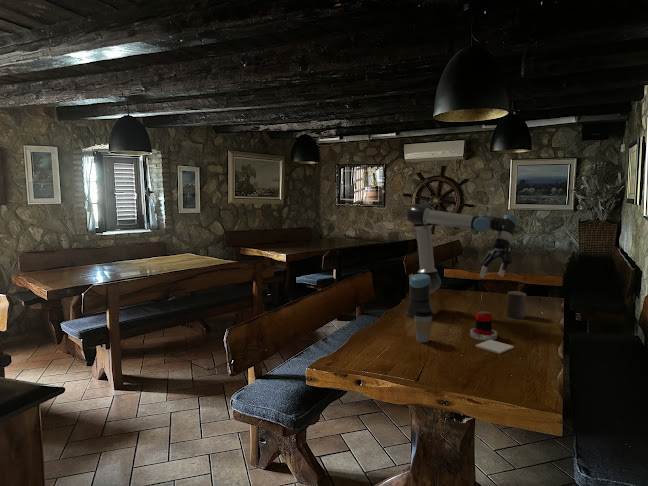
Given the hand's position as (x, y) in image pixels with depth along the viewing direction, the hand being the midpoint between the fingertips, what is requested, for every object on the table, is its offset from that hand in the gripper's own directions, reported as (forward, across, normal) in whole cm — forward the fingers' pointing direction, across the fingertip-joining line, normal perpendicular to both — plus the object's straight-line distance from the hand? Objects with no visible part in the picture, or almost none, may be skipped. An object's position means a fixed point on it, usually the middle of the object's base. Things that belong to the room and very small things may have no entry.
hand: (490, 276), depth 223 cm
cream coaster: (+37, -16, -2) cm, 41 cm away
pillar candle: (+4, +17, -38) cm, 42 cm away
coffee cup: (+46, +5, +21) cm, 51 cm away
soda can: (+31, -2, -6) cm, 32 cm away
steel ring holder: (+31, -2, -5) cm, 31 cm away
